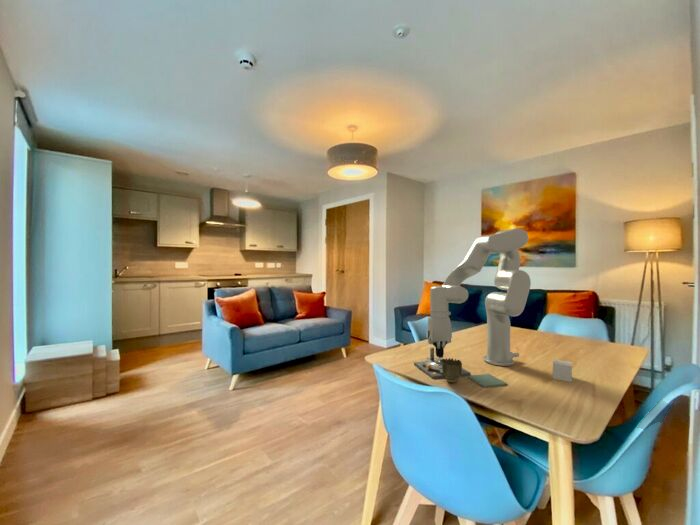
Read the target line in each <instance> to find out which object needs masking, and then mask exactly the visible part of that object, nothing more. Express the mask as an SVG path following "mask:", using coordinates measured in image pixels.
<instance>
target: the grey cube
mask: <svg viewBox="0 0 700 525" xmlns="http://www.w3.org/2000/svg"><path fill="white" fill-rule="evenodd" d="M552 379H553V380H557V381H558V380H559V381H565V382H569V381H570V382H571V383H572V382H573V362H571V361H565V360H559V359H553V360H552ZM570 382H569V383H570Z"/></svg>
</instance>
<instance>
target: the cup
mask: <svg viewBox="0 0 700 525" xmlns="http://www.w3.org/2000/svg"><path fill="white" fill-rule="evenodd" d="M445 359H446V360H445ZM447 359H448V360H447ZM454 360H455V361H454ZM441 361H442V370H443V374H444V376H445V378H446V382H447V383H449V384H456V383H457V382H458V380H457V379H459V378H460V377H461V376H460V375H461V369H462V368H463V362H462V360H460V359H456V358H455V359H453V358H443V359H442V360H441Z"/></svg>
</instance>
